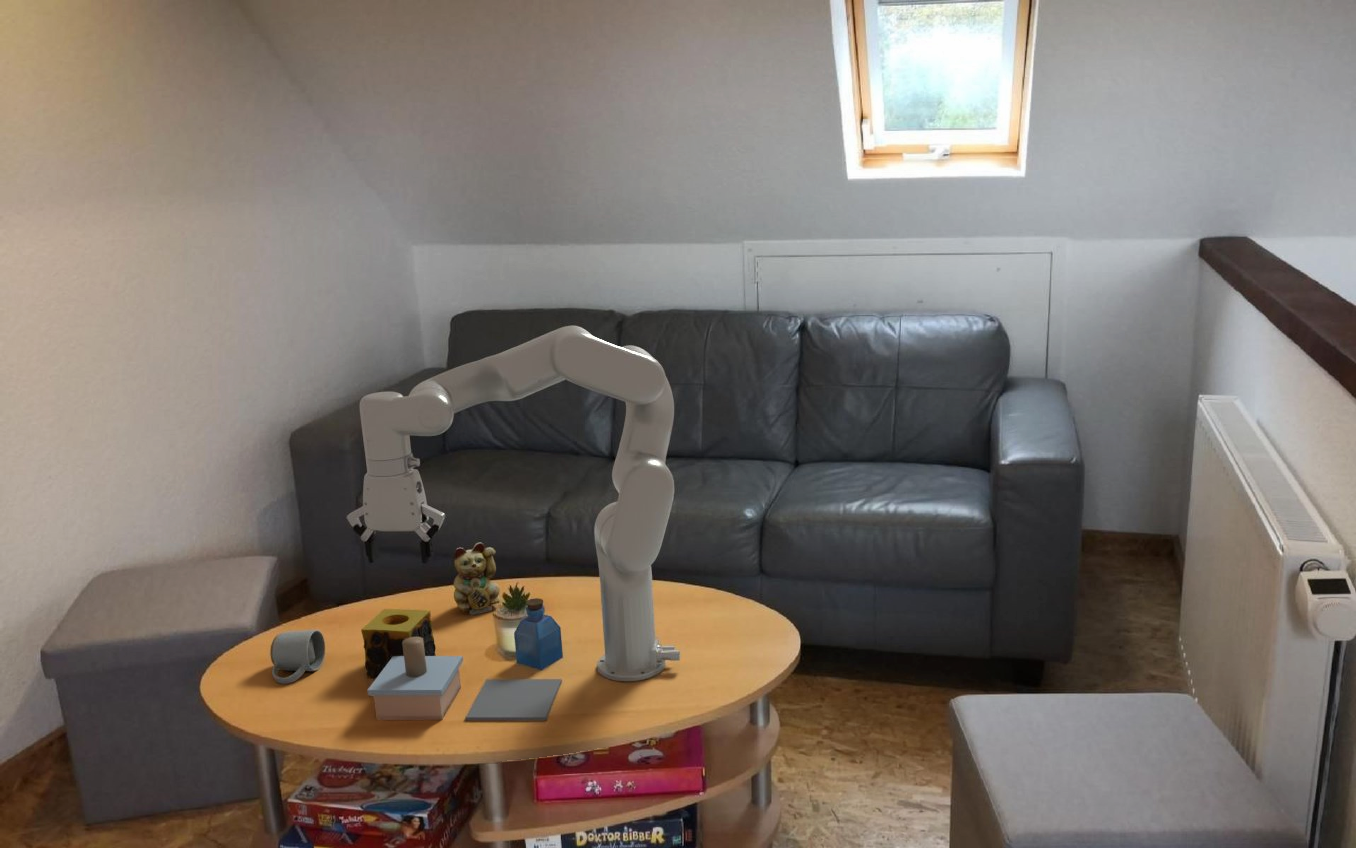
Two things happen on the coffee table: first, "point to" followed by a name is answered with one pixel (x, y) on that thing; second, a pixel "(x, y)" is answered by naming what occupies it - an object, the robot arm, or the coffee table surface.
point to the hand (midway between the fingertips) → (400, 560)
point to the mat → (514, 700)
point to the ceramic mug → (297, 653)
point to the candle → (394, 636)
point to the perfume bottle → (537, 638)
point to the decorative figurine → (475, 579)
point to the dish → (417, 704)
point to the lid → (415, 672)
